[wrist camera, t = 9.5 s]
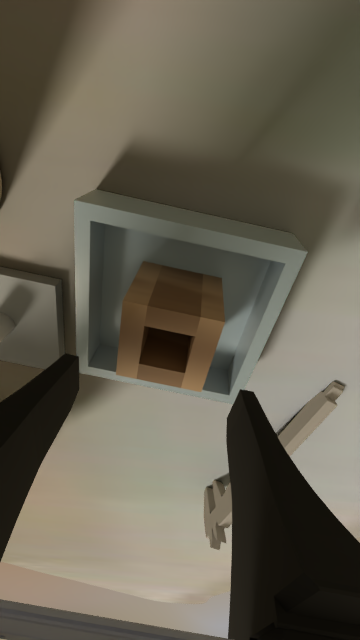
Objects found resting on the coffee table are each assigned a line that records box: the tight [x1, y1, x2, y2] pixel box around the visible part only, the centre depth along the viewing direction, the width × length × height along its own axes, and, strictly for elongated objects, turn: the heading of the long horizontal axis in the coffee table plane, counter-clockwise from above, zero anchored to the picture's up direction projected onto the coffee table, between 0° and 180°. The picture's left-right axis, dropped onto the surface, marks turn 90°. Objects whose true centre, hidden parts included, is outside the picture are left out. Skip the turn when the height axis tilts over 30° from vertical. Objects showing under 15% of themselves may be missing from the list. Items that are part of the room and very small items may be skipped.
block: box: [116, 261, 225, 392], centre depth 17 cm, size 5×5×5 cm
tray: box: [74, 189, 308, 404], centre depth 18 cm, size 12×12×3 cm
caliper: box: [204, 382, 344, 550], centre depth 26 cm, size 20×1×6 cm, turn 153°
